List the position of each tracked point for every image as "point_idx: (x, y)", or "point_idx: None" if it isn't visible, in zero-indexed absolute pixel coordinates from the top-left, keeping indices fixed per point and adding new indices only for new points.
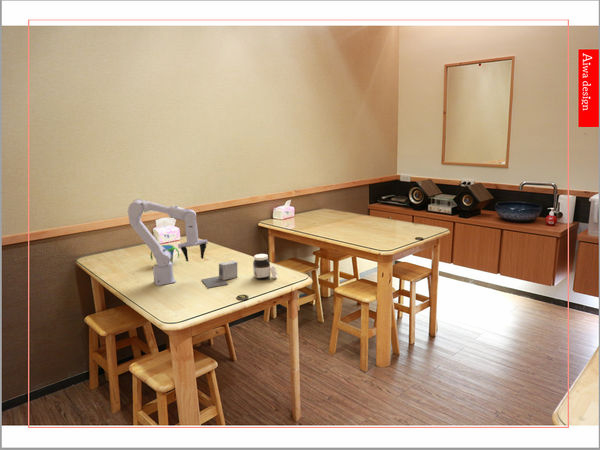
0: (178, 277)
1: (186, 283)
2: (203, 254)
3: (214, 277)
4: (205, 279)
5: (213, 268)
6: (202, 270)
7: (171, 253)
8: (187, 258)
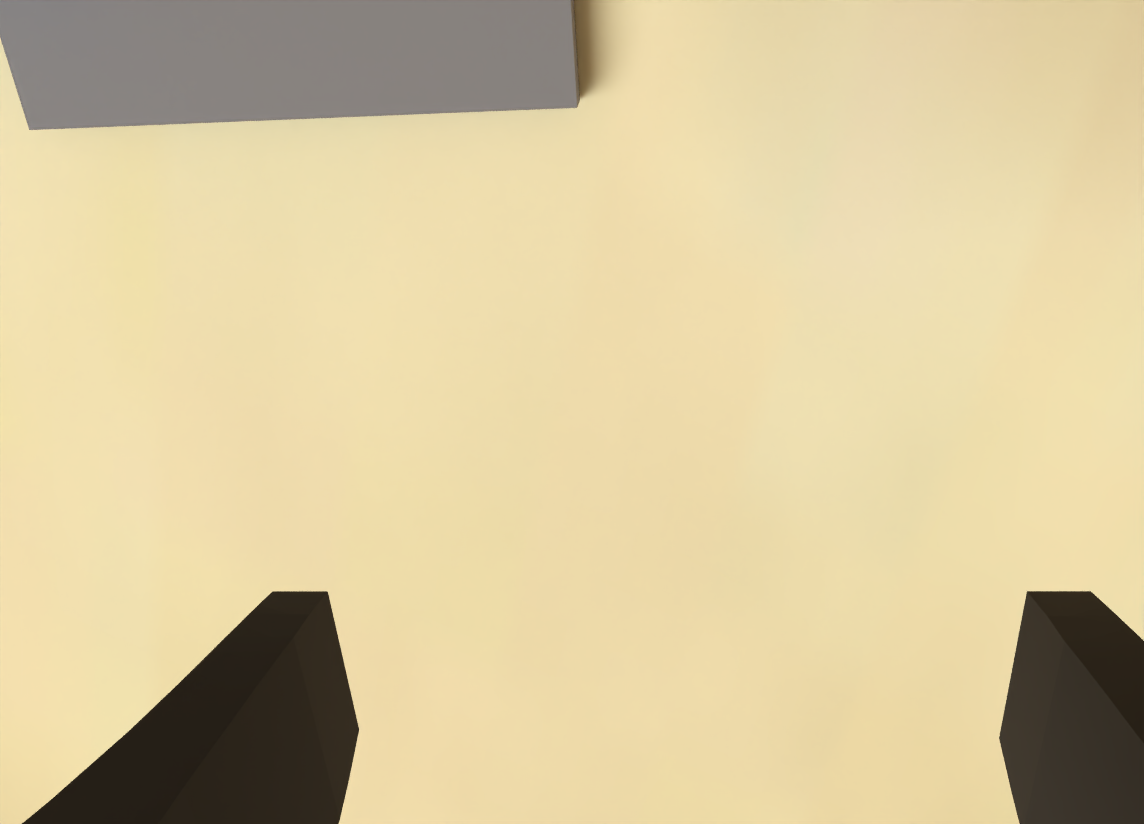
0: None
1: (1036, 58)
2: (146, 721)
3: (196, 79)
4: (463, 41)
5: None
6: (439, 725)
7: None
8: (1137, 684)
